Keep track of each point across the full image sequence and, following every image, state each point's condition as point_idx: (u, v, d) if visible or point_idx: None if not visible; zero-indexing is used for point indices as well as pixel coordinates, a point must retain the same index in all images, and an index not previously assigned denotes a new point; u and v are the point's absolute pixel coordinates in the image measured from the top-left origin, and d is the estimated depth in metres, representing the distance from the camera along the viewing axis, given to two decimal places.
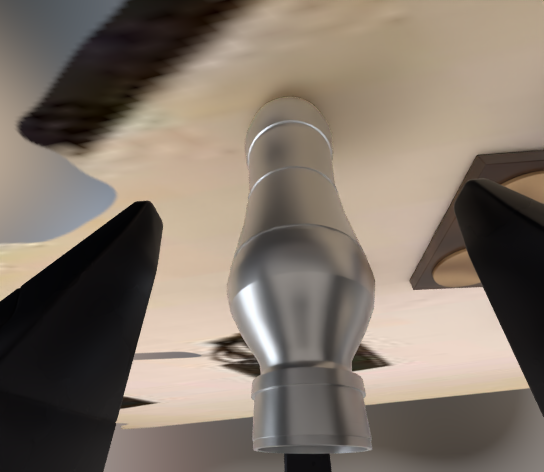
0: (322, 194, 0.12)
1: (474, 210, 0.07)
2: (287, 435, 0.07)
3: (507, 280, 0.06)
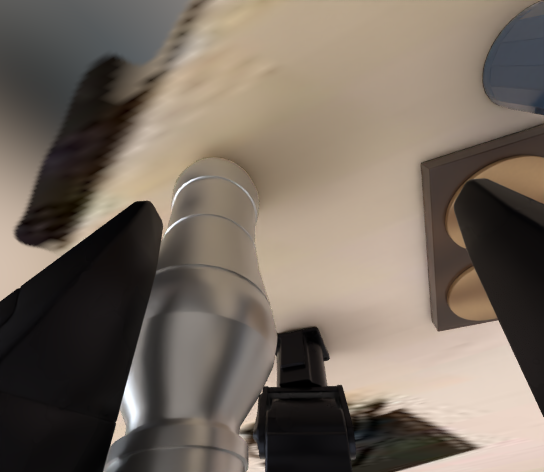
0: (207, 234, 0.12)
1: (474, 210, 0.07)
2: None
3: (507, 280, 0.06)
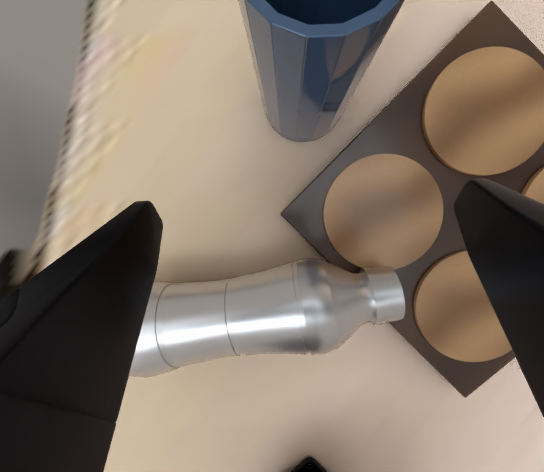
0: (257, 273, 0.18)
1: (474, 210, 0.07)
2: (396, 281, 0.16)
3: (507, 280, 0.06)
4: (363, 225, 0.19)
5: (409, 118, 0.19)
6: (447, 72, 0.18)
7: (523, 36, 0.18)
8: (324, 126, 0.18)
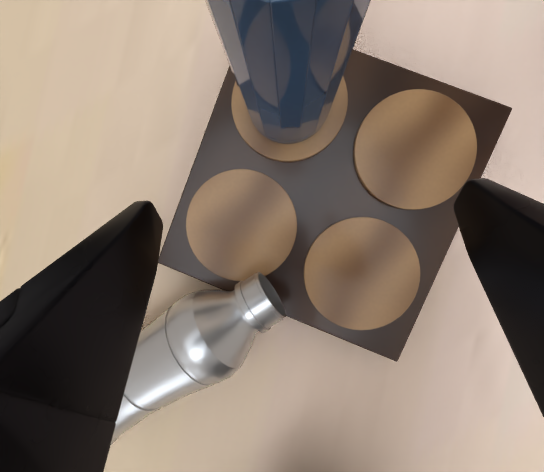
0: None
1: (474, 210, 0.07)
2: (257, 286, 0.17)
3: (507, 280, 0.06)
4: (229, 243, 0.20)
5: (228, 135, 0.20)
6: None
7: None
8: (310, 124, 0.16)
